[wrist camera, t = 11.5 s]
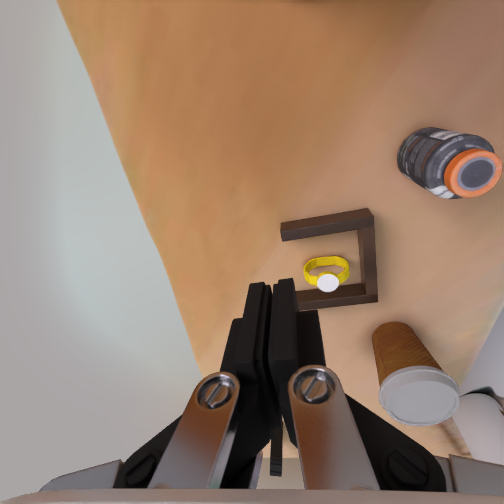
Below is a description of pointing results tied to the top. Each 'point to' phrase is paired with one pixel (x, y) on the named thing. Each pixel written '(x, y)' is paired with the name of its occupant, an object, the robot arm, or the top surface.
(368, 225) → the bay
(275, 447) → the ink cartridge
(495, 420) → the milk bottle
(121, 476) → the robot arm
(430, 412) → the disposable coffee cup
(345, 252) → the top surface
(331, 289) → the watch
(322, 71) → the top surface
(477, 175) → the pill bottle
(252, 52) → the top surface
